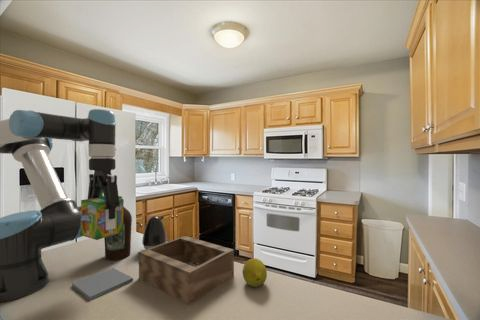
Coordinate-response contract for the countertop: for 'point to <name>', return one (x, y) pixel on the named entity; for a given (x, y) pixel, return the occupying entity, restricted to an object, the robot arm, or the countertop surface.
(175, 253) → the walnut box
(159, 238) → the pump dispenser
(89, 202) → the chalk box
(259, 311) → the countertop surface
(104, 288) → the slate mat
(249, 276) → the lemon
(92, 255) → the countertop surface
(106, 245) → the olive oil
